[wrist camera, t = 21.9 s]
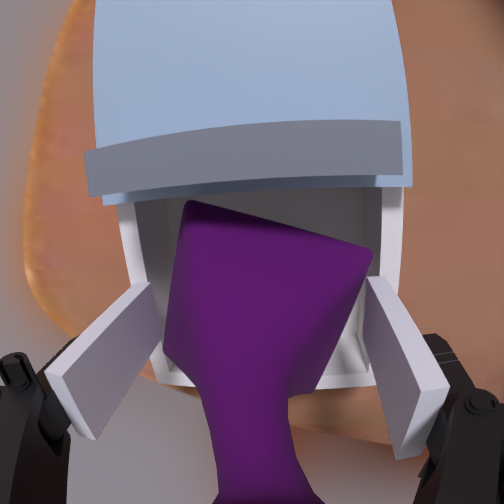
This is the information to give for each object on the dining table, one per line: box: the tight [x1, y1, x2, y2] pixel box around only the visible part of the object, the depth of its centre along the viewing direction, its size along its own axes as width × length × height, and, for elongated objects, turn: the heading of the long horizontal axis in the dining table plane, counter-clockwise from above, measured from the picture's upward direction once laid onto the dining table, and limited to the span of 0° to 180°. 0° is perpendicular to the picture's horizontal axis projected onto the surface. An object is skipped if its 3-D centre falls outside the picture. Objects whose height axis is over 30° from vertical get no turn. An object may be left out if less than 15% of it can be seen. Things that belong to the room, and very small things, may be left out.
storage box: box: [116, 187, 403, 389], centre depth 16 cm, size 18×13×4 cm
